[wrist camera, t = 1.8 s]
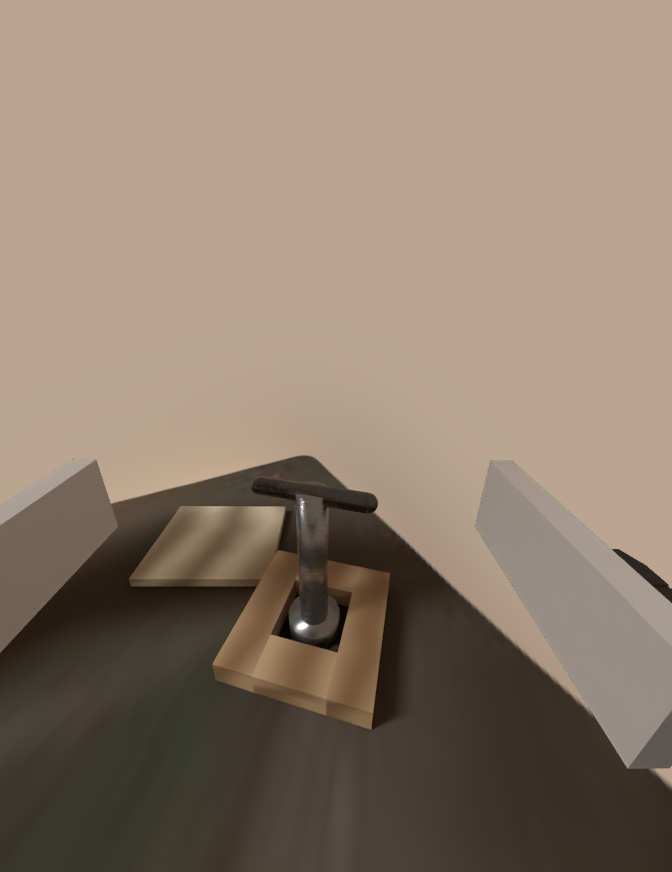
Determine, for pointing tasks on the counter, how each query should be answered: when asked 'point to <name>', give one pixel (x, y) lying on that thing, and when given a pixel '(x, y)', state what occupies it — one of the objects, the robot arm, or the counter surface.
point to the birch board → (213, 547)
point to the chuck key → (314, 552)
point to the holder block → (304, 664)
